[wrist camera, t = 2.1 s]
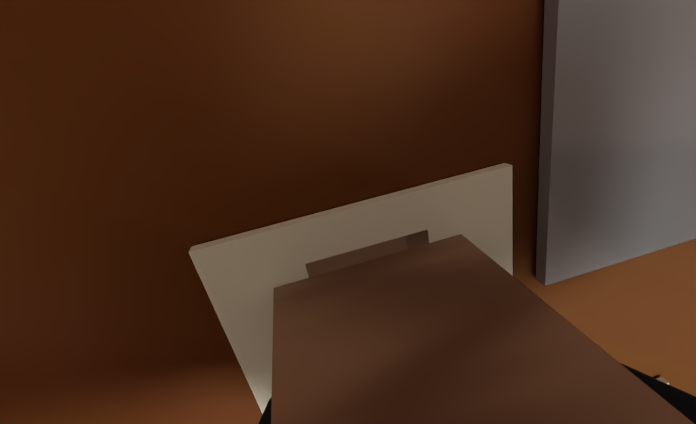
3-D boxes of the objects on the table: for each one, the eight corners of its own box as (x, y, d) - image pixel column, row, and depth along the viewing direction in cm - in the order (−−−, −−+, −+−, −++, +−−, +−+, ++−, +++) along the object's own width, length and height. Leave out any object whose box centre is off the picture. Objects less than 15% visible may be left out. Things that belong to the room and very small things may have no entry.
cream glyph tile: (504, 162, 8) (512, 165, 8) (506, 379, 12) (513, 386, 11) (191, 246, 8) (187, 252, 7) (285, 455, 11) (285, 465, 10)
